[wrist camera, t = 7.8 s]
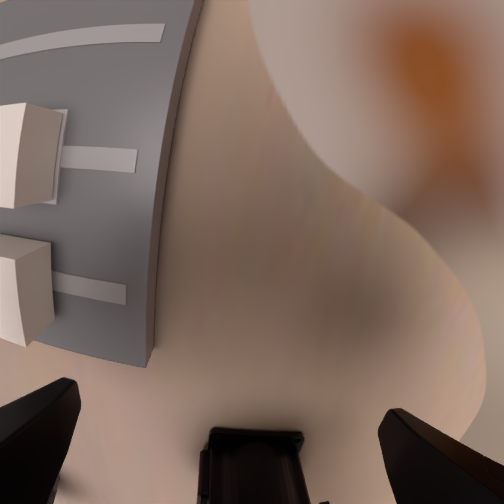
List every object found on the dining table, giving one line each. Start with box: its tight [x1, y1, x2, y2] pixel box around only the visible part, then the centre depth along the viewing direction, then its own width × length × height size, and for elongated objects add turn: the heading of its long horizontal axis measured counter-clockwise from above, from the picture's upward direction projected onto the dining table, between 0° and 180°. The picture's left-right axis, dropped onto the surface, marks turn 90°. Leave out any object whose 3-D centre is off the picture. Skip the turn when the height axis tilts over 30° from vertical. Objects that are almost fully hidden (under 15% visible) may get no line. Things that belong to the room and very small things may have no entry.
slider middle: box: [0, 103, 63, 209], centre depth 10 cm, size 4×4×3 cm
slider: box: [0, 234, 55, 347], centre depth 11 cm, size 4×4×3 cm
